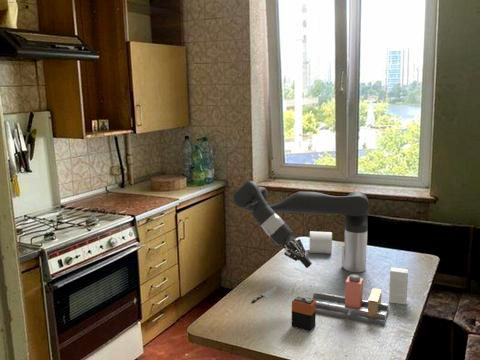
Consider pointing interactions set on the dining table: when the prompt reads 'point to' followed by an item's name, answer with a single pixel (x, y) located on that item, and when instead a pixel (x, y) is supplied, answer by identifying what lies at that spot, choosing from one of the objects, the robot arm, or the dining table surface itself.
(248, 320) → the dining table surface
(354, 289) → the pink dome-topped pillar
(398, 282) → the skincare box
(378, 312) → the rail
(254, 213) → the robot arm
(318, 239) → the toilet paper
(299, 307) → the battery
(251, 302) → the chef's knife
